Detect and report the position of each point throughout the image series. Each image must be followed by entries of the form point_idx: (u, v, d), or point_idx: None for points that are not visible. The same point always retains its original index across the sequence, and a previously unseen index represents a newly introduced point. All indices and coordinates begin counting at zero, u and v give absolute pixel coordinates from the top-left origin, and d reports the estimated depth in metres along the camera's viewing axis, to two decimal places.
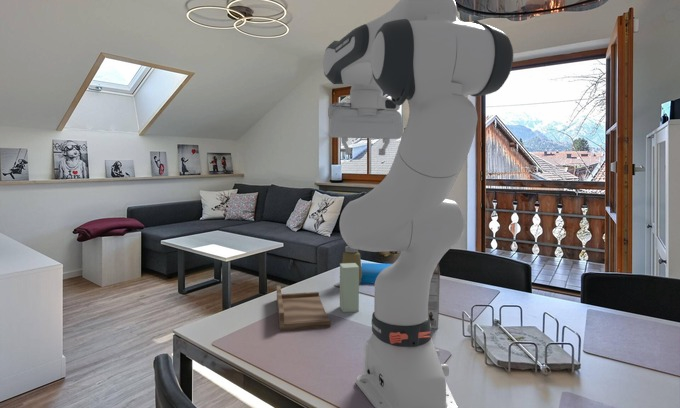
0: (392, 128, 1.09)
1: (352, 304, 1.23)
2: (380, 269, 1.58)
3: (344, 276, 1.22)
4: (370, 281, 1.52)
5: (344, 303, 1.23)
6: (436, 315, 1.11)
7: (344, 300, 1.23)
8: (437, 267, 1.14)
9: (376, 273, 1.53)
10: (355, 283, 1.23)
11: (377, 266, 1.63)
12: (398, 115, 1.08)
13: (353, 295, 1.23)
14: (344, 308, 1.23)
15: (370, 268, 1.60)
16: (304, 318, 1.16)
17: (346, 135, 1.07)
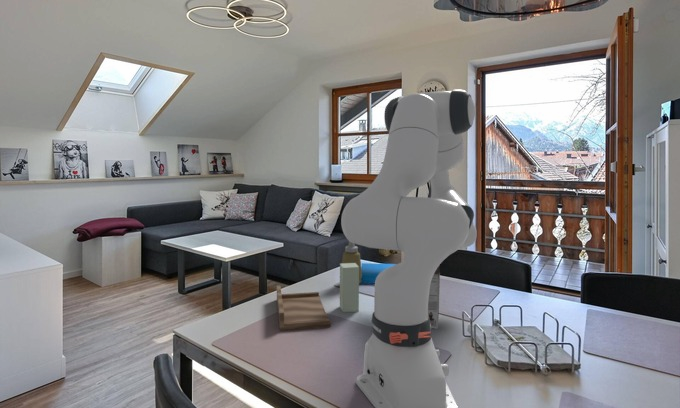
0: None
1: (352, 304, 1.23)
2: (380, 269, 1.58)
3: (344, 276, 1.22)
4: (370, 281, 1.52)
5: (344, 303, 1.23)
6: (436, 315, 1.11)
7: (344, 300, 1.23)
8: None
9: (376, 273, 1.53)
10: (355, 283, 1.23)
11: (377, 266, 1.63)
12: None
13: (353, 295, 1.23)
14: (344, 308, 1.23)
15: (370, 268, 1.60)
16: (304, 318, 1.16)
17: None
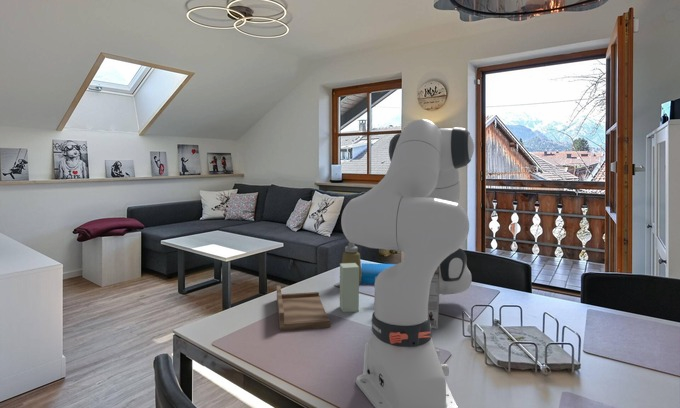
0: None
1: (352, 304, 1.23)
2: (380, 269, 1.58)
3: (344, 276, 1.22)
4: (370, 281, 1.51)
5: (344, 303, 1.23)
6: (436, 315, 1.11)
7: (344, 300, 1.23)
8: None
9: (376, 273, 1.53)
10: (355, 283, 1.23)
11: (377, 266, 1.63)
12: None
13: (353, 295, 1.23)
14: (344, 308, 1.23)
15: (370, 268, 1.60)
16: (304, 318, 1.16)
17: None
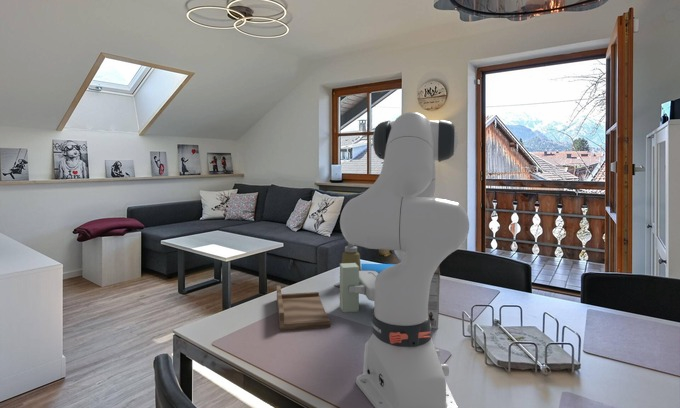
0: (375, 285, 1.19)
1: (352, 304, 1.23)
2: (380, 270, 1.58)
3: (344, 276, 1.22)
4: None
5: (344, 303, 1.23)
6: (436, 315, 1.11)
7: (344, 300, 1.23)
8: (437, 267, 1.14)
9: None
10: (355, 283, 1.23)
11: (377, 266, 1.63)
12: None
13: (353, 295, 1.23)
14: (344, 308, 1.23)
15: (370, 268, 1.60)
16: (304, 318, 1.16)
17: None
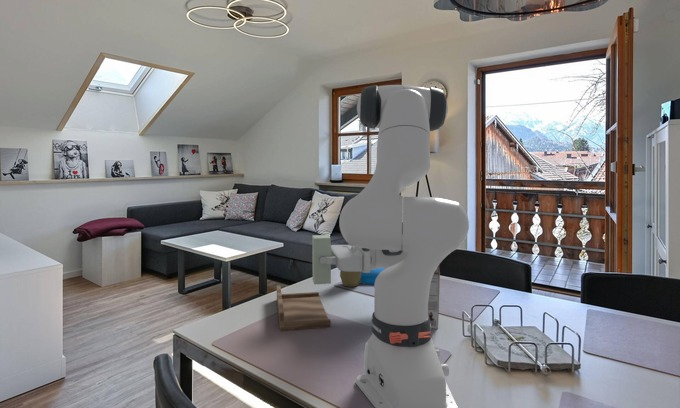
0: (346, 256, 1.16)
1: (323, 276, 1.21)
2: (380, 270, 1.58)
3: (315, 247, 1.19)
4: (370, 282, 1.51)
5: (316, 275, 1.20)
6: (436, 315, 1.11)
7: (316, 272, 1.20)
8: (437, 267, 1.14)
9: (376, 274, 1.52)
10: (327, 254, 1.20)
11: None
12: (358, 254, 1.16)
13: (324, 267, 1.20)
14: (316, 280, 1.20)
15: None
16: (304, 318, 1.16)
17: (331, 247, 1.28)
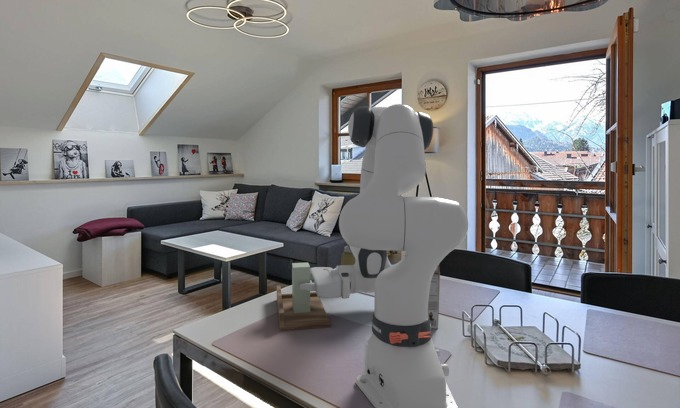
0: (325, 281, 1.16)
1: (303, 305, 1.20)
2: None
3: (295, 276, 1.19)
4: None
5: (295, 304, 1.20)
6: (436, 315, 1.11)
7: (295, 301, 1.20)
8: (437, 267, 1.14)
9: None
10: None
11: None
12: (337, 280, 1.15)
13: (304, 296, 1.20)
14: (295, 309, 1.20)
15: None
16: (304, 318, 1.16)
17: (312, 270, 1.28)
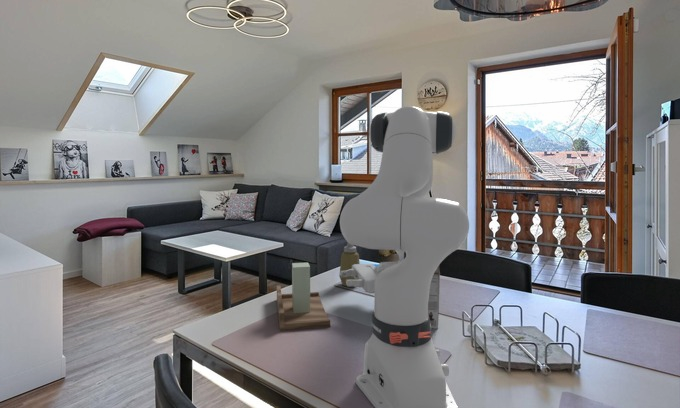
0: (372, 277, 1.19)
1: (303, 305, 1.20)
2: None
3: (294, 276, 1.19)
4: None
5: (295, 304, 1.20)
6: (436, 315, 1.11)
7: (295, 301, 1.20)
8: (437, 267, 1.14)
9: None
10: (306, 283, 1.20)
11: None
12: None
13: (304, 296, 1.20)
14: (295, 309, 1.20)
15: None
16: (304, 318, 1.16)
17: (355, 267, 1.31)
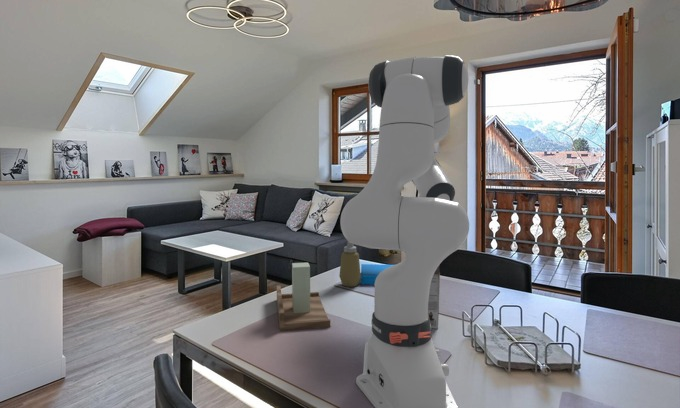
0: None
1: (303, 305, 1.20)
2: (380, 270, 1.57)
3: (294, 276, 1.19)
4: (370, 282, 1.50)
5: (295, 304, 1.20)
6: (436, 315, 1.11)
7: (295, 301, 1.20)
8: (437, 267, 1.14)
9: (376, 274, 1.51)
10: (306, 283, 1.20)
11: (377, 267, 1.61)
12: None
13: (304, 296, 1.20)
14: (295, 309, 1.20)
15: (370, 269, 1.59)
16: (304, 318, 1.16)
17: None
